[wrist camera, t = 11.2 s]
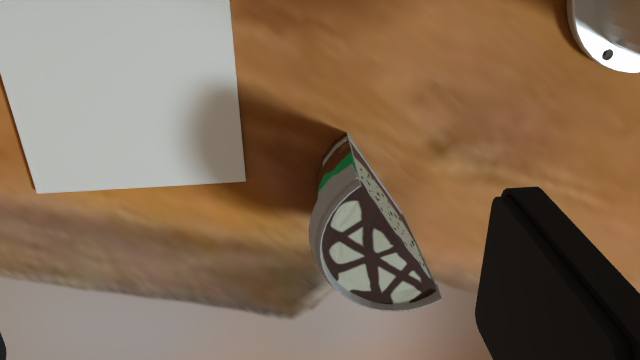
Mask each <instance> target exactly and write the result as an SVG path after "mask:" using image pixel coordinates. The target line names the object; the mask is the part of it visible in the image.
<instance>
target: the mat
mask: <svg viewBox="0 0 640 360" xmlns="http://www.w3.org/2000/svg"><path fill="white" fill-rule="evenodd" d="M0 74H1V77H2V80H3V84H4V87H5V90H6V93H7V97H8V100H9V103H10V107H11V110H12V113H13V116H14V120H15V123H16V126H17V129H18V133H19V136H20V139H21V143H22V146H23V149H24V152H25V156H26V159H27V162H28V165H29V169H30V172H31V175H32V178H33V182H34V185H35V188H36V192H37V194H38V193H56V192H73V191H91V190H108V189H125V188H143V187H160V186H178V185H195V184H213V183H230V182H246V175H245V164H244V154H243V143H242V132H241V121H240V110H239V100H238V89H237V78H236V67H235V56H234V46H233V35H232V24H231V13H230V2H229V0H0Z"/></svg>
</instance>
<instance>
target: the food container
mask: <svg viewBox="0 0 640 360" xmlns="http://www.w3.org/2000/svg"><path fill="white" fill-rule="evenodd" d="M309 242H310V246H311V251H312V254H313V256H314V258H315V261H316V263H317V265H318V267H319V268H320V270H321V272H322V274H323V275H324V277H325V278H326V280H327V281H328V283H329V284H330V285H331V286H332V287H333V288H334V289H335V290H336V291H338V292H339V293H340V294H341V295H342V296H344V297H345V298H347V299H348V300H350V301H351V302H353V303H356V304H358V305H360V306H362V307H366V308H369V309H372V310H378V311H386V312H399V311H409V310H414V309H419V308H422V307H425V306H428V305H431V304H434V303H436V302H438V301H440V300H442V299H443V298H442V295H441V292H440V289H439V287H438V285H437V284H436V283H435V281H434V279H433V277H432V274H431V272H430V270H429V268H428V266H427V264H426V262H425V259H424V257H423V255H422V253H421V251H420V249H419V247H418V244H417V242H416V240H415V238H414V236H413V234H412V232H411V229H410V227H409V225H408V223H407V221H406V219H405V216H404V214H403V213H402V212H401V210H400V209H399V207H398V206H397V204H396V203H395V201H394V200H393V199H392V197H391V196H390V194H389V193H388V191H387V190H386V188H385V187H384V186H383V184H382V183H381V181H380V180H379V178H378V177H377V175H376V174H375V173H374V171H373V170H372V168H371V167H370V165H369V164H368V162H367V161H366V160H365V158H364V157H363V155H362V154H361V152H360V151H359V149H358V148H357V147H356V145H355V144H354V142H353V141H352V139H351V138H350V136H349V135H348V134H347V133H345V134H344V135H343V136H341V137H340V138H339V139H338V140H336V141H335V142H334V143H333V145H332V146H331V147H330V148H329V150H328V151H327V152H326V154H325V155H324V156H323V159H322V162H321V165H320V167H319V170H318V200H317V202H316V204H315V206H314V209H313V212H312V215H311V218H310V225H309Z"/></svg>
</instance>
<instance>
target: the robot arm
mask: <svg viewBox="0 0 640 360" xmlns="http://www.w3.org/2000/svg"><path fill="white" fill-rule="evenodd" d="M567 16H568V24H569V27H570V30H571V32H572V35H573V38H574V40H575V41H576V43H577V44H578V46H579V47H580V49H581V50H582V51H583V52H584V53H585V54H586V55H587V56H588V57H589V58H590V59H592V60H593V61H595V62H597V63H599V64H600V65H602V66H604V67H607V68H609V69H612V70H614V71H619V72H625V73H640V0H567ZM475 318H476V323H477V327H478V329H479V332H480V334H481V336H482V338H483V340H484V342H485V344H486V346H487V348H488V350H489V352H490V354H491V356H492V358H493V360H640V294H639V293H638V292H637V291H636V289H635V288H634V287H633V286H632V285H631V284H630V283H629V282H628V281H627V280H626V279H625V278H624V277H623V276H622V275H621V273H620V272H619V271H618V270H617V269H616V268H615V267H614V266H613V265H612V264H611V263H610V262H609V261H608V260H607V259H606V257H605V256H604V255H603V254H602V253H601V252H600V251H599V250H598V249H597V248H596V247H595V246H594V245H593V244H592V243H591V242H590V240H589V239H588V238H587V237H586V236H585V235H584V234H583V233H582V232H581V231H580V230H579V229H578V228H577V227H576V226H575V224H574V223H573V222H572V221H571V220H570V219H569V218H568V217H567V216H566V215H565V214H564V213H563V212H562V211H561V210H560V208H559V207H558V206H557V205H556V204H555V203H554V202H553V201H552V200H551V199H550V198H549V197H548V196H547V195H546V194H545V193H544V191H543V190H542V189H540V188H539V187H523V188H507V189H505V190H504V191H503V193H502V195H501V197H495V198H494V200H493V202H492V207H491V213H490V219H489V226H488V232H487V238H486V245H485V251H484V257H483V264H482V270H481V276H480V283H479V289H478V295H477V302H476V309H475ZM0 360H6V347H5V343H4V341H3V338H2V336H1V333H0Z"/></svg>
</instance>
